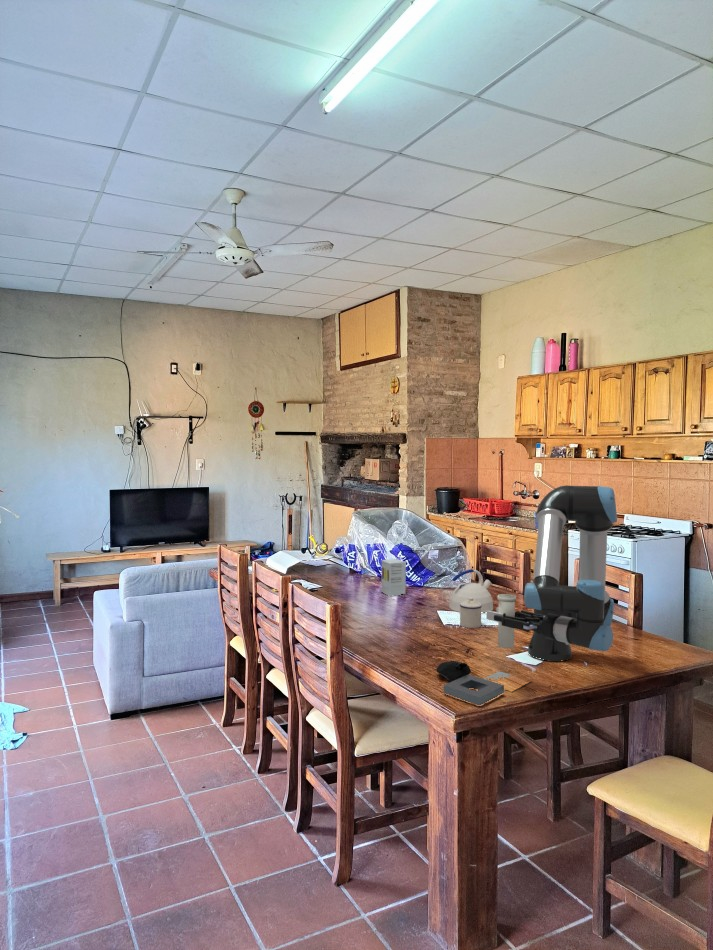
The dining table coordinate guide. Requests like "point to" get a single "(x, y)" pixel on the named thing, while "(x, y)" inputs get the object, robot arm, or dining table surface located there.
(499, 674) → the mat
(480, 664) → the dining table surface
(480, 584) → the kettle
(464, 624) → the teacup with lid
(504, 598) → the cream upright pillar
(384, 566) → the supplement box
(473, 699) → the housing
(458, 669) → the rock
